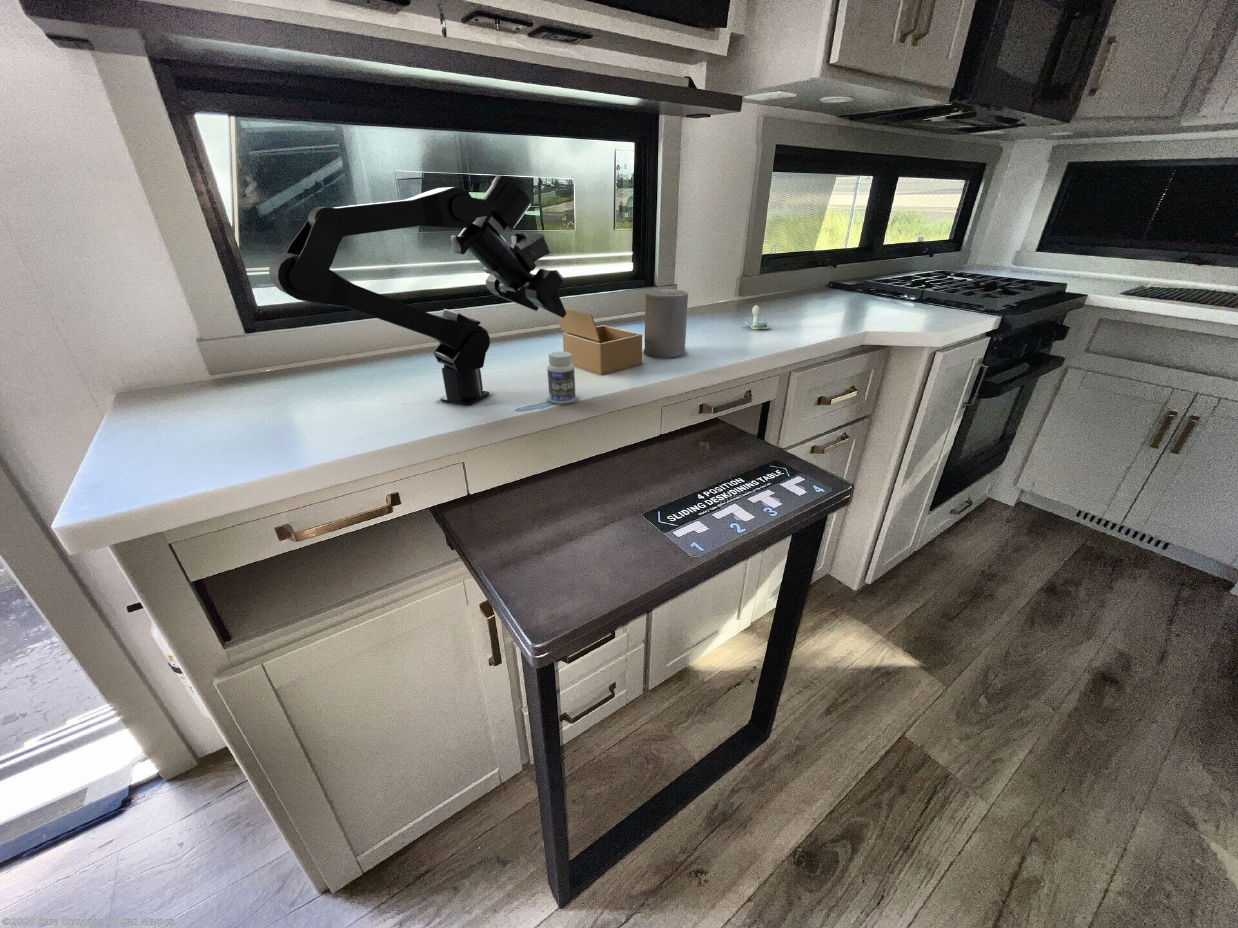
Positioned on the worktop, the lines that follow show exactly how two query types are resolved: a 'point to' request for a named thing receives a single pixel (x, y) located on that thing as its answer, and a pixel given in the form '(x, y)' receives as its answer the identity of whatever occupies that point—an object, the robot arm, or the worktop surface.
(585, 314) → the flap
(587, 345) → the carton
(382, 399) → the worktop surface
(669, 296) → the pillar candle
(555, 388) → the pill bottle
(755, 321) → the pacifier
